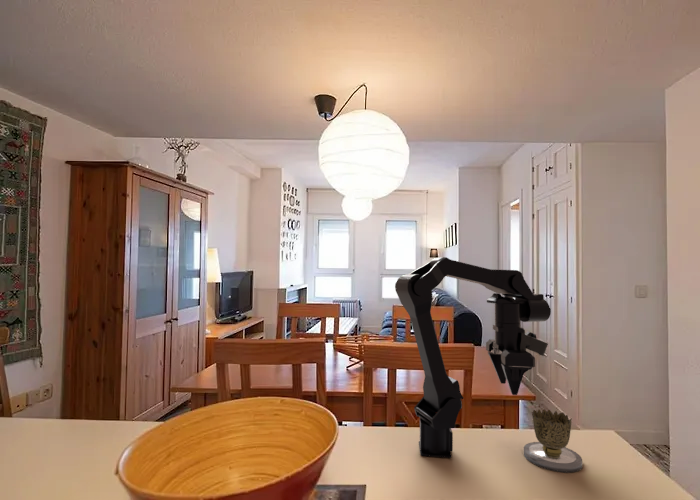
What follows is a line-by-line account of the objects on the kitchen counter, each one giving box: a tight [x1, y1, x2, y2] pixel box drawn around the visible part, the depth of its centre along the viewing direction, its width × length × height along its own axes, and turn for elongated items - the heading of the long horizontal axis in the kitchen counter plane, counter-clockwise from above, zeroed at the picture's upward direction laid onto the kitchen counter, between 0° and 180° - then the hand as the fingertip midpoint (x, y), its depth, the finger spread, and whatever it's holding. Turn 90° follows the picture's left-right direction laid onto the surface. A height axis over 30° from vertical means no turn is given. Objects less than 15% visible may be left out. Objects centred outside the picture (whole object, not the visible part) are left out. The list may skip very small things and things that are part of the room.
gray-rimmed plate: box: [523, 441, 583, 474], centre depth 81 cm, size 11×11×1 cm
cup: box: [531, 408, 572, 456], centre depth 81 cm, size 8×7×8 cm
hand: (508, 388), depth 90 cm, fingers open, 9 cm apart
